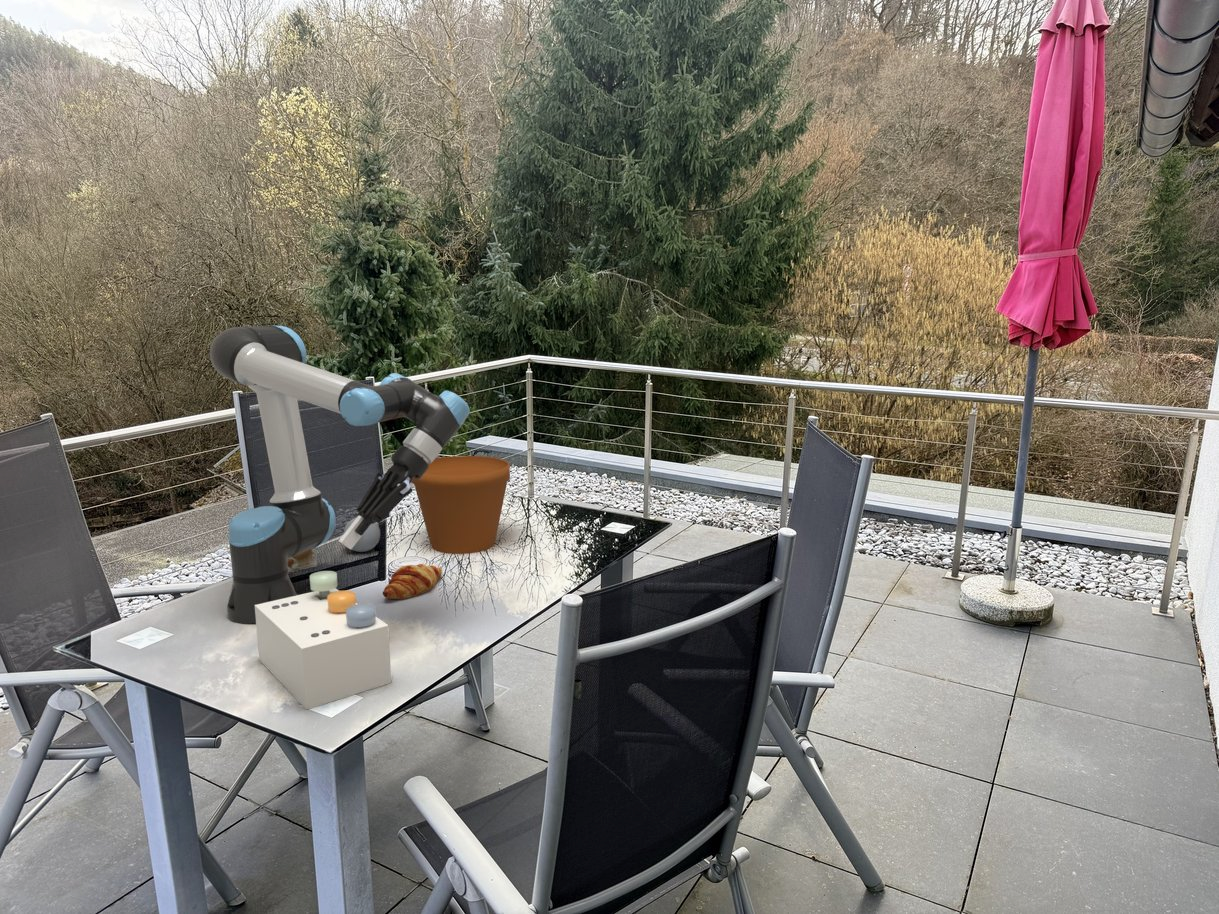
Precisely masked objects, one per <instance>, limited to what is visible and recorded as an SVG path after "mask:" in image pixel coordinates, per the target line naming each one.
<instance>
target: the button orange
mask: <svg viewBox="0 0 1219 914" xmlns="http://www.w3.org/2000/svg"><path fill="white" fill-rule="evenodd" d="M356 598H357V597H356V592H355V591H353V590H339V591H336V592H333V593H330V594H329V595H328V596H327V600H328V610H329V611H331V612H336V613H342V612H346V609H347V608H348V607H350V606H353V605H356V603H357V599H356Z"/></svg>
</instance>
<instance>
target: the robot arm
mask: <svg viewBox="0 0 1219 914" xmlns="http://www.w3.org/2000/svg"><path fill="white" fill-rule="evenodd" d="M209 358H210V362H211V364H212V366H213V368H214V370H215V371H216V372H217V373H218V374H219V375H221V376H222V377H223V378H225V379H227V380H230V381H232V382H235V383H238V384H240V385H244V386H247V387H248V388H249V389H250V390H251V391H253V392H254V393H255V394H256V398H257V403H258V408H259V409H258V410H259V414H260V419H261V424H262V431H263V434H264V441H265V445H266V452H267V457H268V462H269V467H270V468H269V469H270V472H271V478H272V483H273V489H274V494H273V495H272V497H271V498H270V499H269V505H267V506H266V505H263V506H257V507H254V508H248V509H245V510H243V511H240V512H238V513H237V514H236V515H235V514H234V516H233V517H232V518H231V519H230V520H229V523H228V535H227V539H228V544H229V552H230V553H229V554H230V562H231V563H230V564H231V572H232V586H231V590H230V594H229V596H228V601H227V605H226V611H227V613H226V614H227V617H228V620H230V621H232V622H235V623H238V624H240V623H241V624H256V616H255V605H257V604H262V603H266V602H270V601H275V600H279V599H283V598H288V597H292V596H297V595H298V593H297V592H296V590H295V587H294V585H293V582H292V581H291V579H290V576H289V573H288V565H287V558H290V557H292V556H294V555H297V554H299V553H302V552H304V551H307V550H309V549H314V548H316V549H317V547H319V546H321V545H322V544H324V543H326V542H327V541H328V540H330V538H331V537H332V536H333V534H334V532H335V529H336V524H337V523H336V520H337V519H336V513H335V510H334V508H333V507H332V505H331V504H330V503H329V501H327V500H326V499H325V498H323V497H322V492H321V490H319V489H317V488H316V487H315V486H314V485H313V481H312V475H311V469H310V464H309V458H308V453H307V447H306V441H305V435H304V430H303V425H302V419H301V414H300V408H299V402H298V400H301V401H303V402H306V403H309V404H311V405H315V406H318V407H320V408H323V409H326V410H329V411H332V412H334V413H337V414H339V415H340V414H341V416H342V418H343V419H344V420H345V421H346V422H347V423H348V424H349V425H351V426H354V427H362V426H363V427H364V426H365V427H368V426H369V427H370V426H372V425H374V424H379V423H381V422H382V423H383V422H387V421H391V420H395V419H399V418H406V419H408V420H409V421H411V422H412V423H414V424H416V425H415V426H414V428H413V429H411V431H410V433H409V434H408V435H407V436H406V438H405V439H404V440H403V441H402V444H403V445H399V446H398V448H397V449H396V450H395V452H394V453H393V454H392V455H391V457H390V459H391V461H392V463H393V465H391V466H390V467H389V468H388V469H387V470H386V472H385V473H383V474H382V473H381V472H378V473H376V475H375V477H374V480H373V482H372V484H371V485H370V486H369V489H368V490H367V492H366V493H365V495H364V496H363V497H362V499H361V501H360V503H359V505H357V507H356V508H355V509H356V511H357V512H358V513H357V515H358V516H356V517H357V518H356V517H355V518H356V519H355V521H354V522H353V523H352V524H351V526H350V527H349V528H348V530H347V531H346V532H345V533H344V532H343V533H344V535H343V534H342V535H341V537H340V538H339V539H338V542H339V543H341V545H343V546H345V547H346V548H347V549H350V550H352V548H353V547H354V545H355V544H356V543H357V542H358V540H359V539H360V538H361V536H362V535H363V534H364V533H365V531H366V530H367V529H368V527H369V526H370V525H371V524H374V523H375V522H376V523H377V524H380V523H381V522H382V521H383V520H384V519H385V518H386V517H387V516H388V515H389V514H390V513H391V512H392V511H393V510H394V509H395V508H396V507H397V506H398V505H399V504H400V503H401V501H403V500H404V498H406V497H407V496H409V495H410V494H411V493H412V492H413V488H412V487H410V484H412V479H413V478H415V479H420V478H421V477H422V475H423V474H424V473H425V472H426V470H427V469H428V468H429V467H428V466H429V465H428V463H429V464H430V463H432V462H433V461H434V460H435V458H439V457H440V455H439V454H440V453H441V452H442V450H443V449H444V448H445V446H446V445H447V444H448V443H449V441H451V439H452V438H453V437H454V435H455V434H456V433H457V432H458V430H459V429H460V428H462V425H463V423H465V421H466V419H467V418H468V417H469V415H470V411H471V410H470V407H469V405H468V403H467V402H466V401H465V400H464V399H463V398H462V397H461V396H460V395H458V394H456V393H454V392H453V391H450V390H443V392H441V393H440V394H439V395H436V394H434V393H433V392H430V391H429V390H427V389H425V388H424V387H422V386H421V385H419V384H417V383H416V382H414V381H413V380H412V379H410V378H409V377H407V376H404V375H402V374H399V373H397V372H394V373H390V374H389V375H388V376H385V377H384V378H383V379H382V380H381V382H380V383H379V385H368V384H366V383H363V382H359V381H357V380H354V379H352V378H348V377H347V376H346V377H345V376H342V375H340V374H336V373H333V372H331V371H328V370H325V369H321V368H318V367H316V366H312V365H309V364H307V363H306V362H307V349H306V346H305V344H304V342H303V339H302V338H301V337H300V336H299V335H298V334H297V333H296V332H295V331H294V330H293V329H291V328H289V327H287V326H283V325H275V324H274V325H272V324H270V325H269V324H268V325H267V324H266V325H255V326H236V327H230V328H228V329H225V330H223V331H221V332H220V333H218V334H217V335H216V336H215V338H213V340H212V342H211V344H210V348H209Z"/></svg>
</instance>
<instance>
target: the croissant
mask: <svg viewBox="0 0 1219 914" xmlns="http://www.w3.org/2000/svg"><path fill="white" fill-rule="evenodd" d="M442 576H443V568H442V567H437V566H435V565H430V566H429V565H426V564H423V563H419V564H417V565H414V564H407V565H403V566H400V567H399V568H397V569H396V570H395V571H394V572H393V574H392V576H391V579H390V580H389V581H388V584H387V585H386V586H385V587H384V589H383V591H382V594H383V596H384V598H386V599H391V600H392V599H399V600H403V599H408V598H410V597H416V596H418V595H421V594H423V593H427V592H428V591H429V590H431V589H432V588H433V587H435V585H436V583H437V582H439V581H438V580H439V579H440V578H441V577H442Z"/></svg>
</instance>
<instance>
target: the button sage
mask: <svg viewBox="0 0 1219 914" xmlns="http://www.w3.org/2000/svg"><path fill="white" fill-rule="evenodd" d="M309 585H310V586H309V587H310V588H309V589H310V590H311V591H312V592H314V591H319V596H320V600H323V599H327V596H328V595H329V594H330V590H332V589H335V588H336V589H337V587H338V585H339V584H338V573H337V572H336V571H334V570H320V571H317V572H313V573H311V574H310V575H309Z"/></svg>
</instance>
